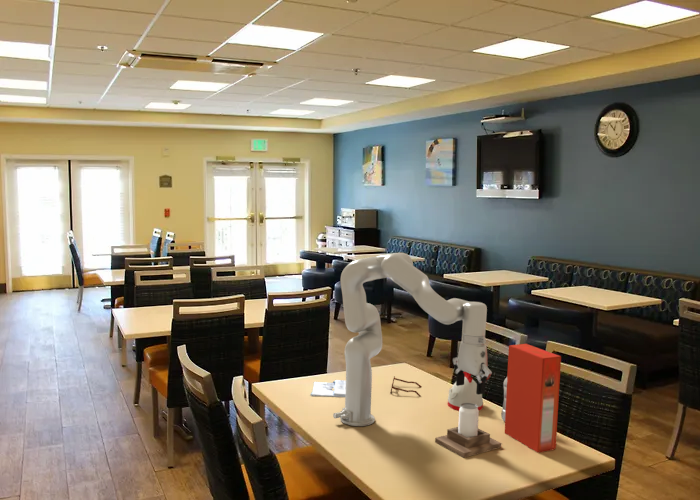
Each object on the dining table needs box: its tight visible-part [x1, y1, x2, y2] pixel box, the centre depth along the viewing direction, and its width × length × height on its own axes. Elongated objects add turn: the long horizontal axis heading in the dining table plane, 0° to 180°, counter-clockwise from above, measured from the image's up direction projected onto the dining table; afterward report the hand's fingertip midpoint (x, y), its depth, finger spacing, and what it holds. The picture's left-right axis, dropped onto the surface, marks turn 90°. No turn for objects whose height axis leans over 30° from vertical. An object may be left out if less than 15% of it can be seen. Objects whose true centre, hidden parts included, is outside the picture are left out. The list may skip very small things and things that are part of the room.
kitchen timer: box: [447, 372, 484, 412], centre depth 245 cm, size 14×14×15 cm
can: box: [457, 403, 480, 438], centre depth 207 cm, size 6×6×12 cm
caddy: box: [434, 426, 502, 458], centre depth 207 cm, size 17×14×4 cm
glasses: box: [390, 376, 423, 397], centre depth 262 cm, size 13×13×5 cm
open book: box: [310, 379, 346, 398], centre depth 261 cm, size 19×20×2 cm
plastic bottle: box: [501, 376, 507, 422], centre depth 229 cm, size 6×7×20 cm
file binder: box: [504, 343, 562, 453], centre depth 211 cm, size 8×17×32 cm, turn 23°
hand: (470, 389), depth 206 cm, fingers open, 9 cm apart
